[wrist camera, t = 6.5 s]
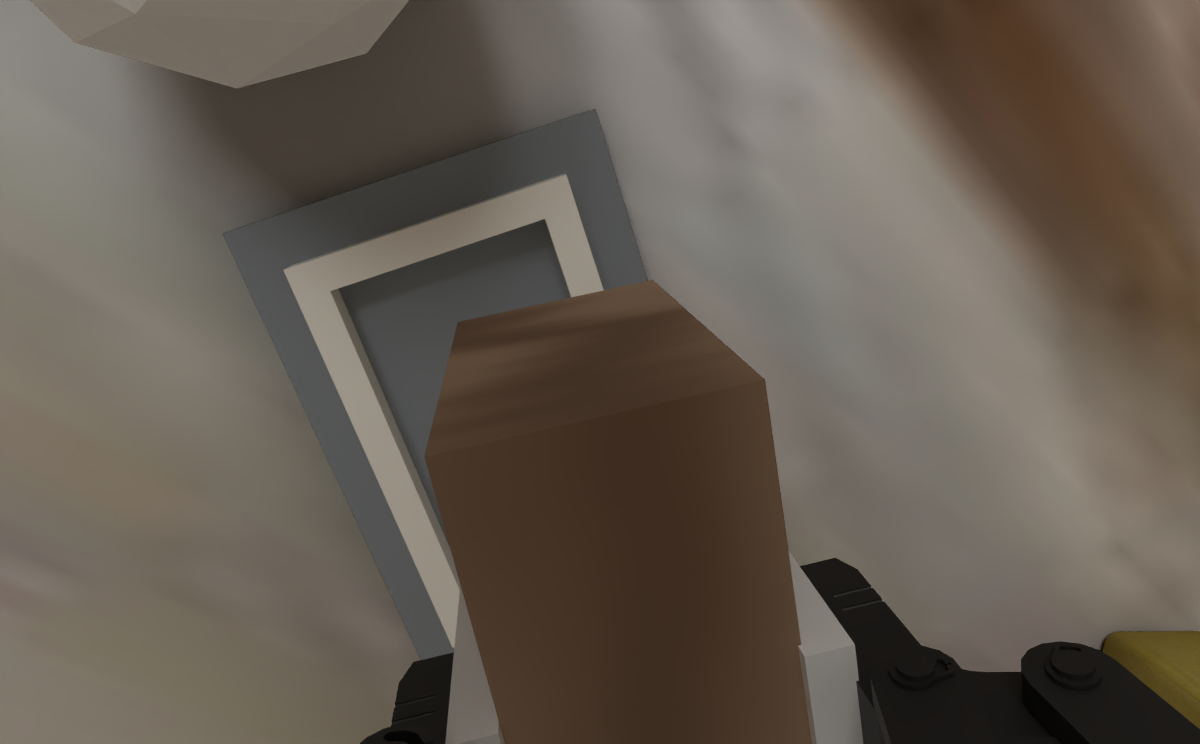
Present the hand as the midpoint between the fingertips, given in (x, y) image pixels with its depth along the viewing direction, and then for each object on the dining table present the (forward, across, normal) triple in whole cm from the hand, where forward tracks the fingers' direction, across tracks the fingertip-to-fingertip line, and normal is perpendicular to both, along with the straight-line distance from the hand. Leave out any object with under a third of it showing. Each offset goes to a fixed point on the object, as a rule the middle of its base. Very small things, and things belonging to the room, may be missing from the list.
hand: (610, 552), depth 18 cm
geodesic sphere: (+15, -6, +19) cm, 25 cm away
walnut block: (+2, 0, 0) cm, 2 cm away
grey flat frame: (+15, -3, -1) cm, 15 cm away
